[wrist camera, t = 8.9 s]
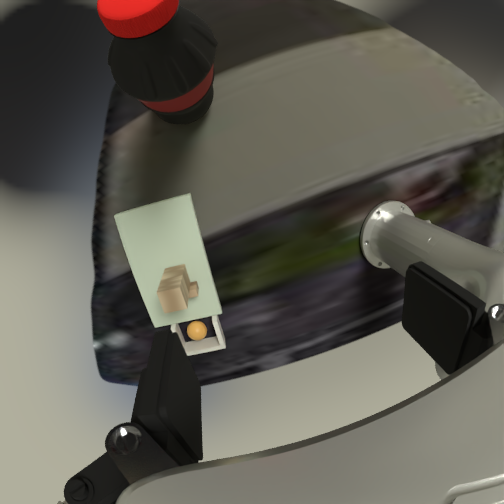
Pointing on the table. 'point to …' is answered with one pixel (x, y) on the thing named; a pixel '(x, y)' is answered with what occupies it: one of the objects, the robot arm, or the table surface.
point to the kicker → (176, 289)
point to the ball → (196, 330)
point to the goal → (203, 340)
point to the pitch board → (168, 255)
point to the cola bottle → (161, 56)
